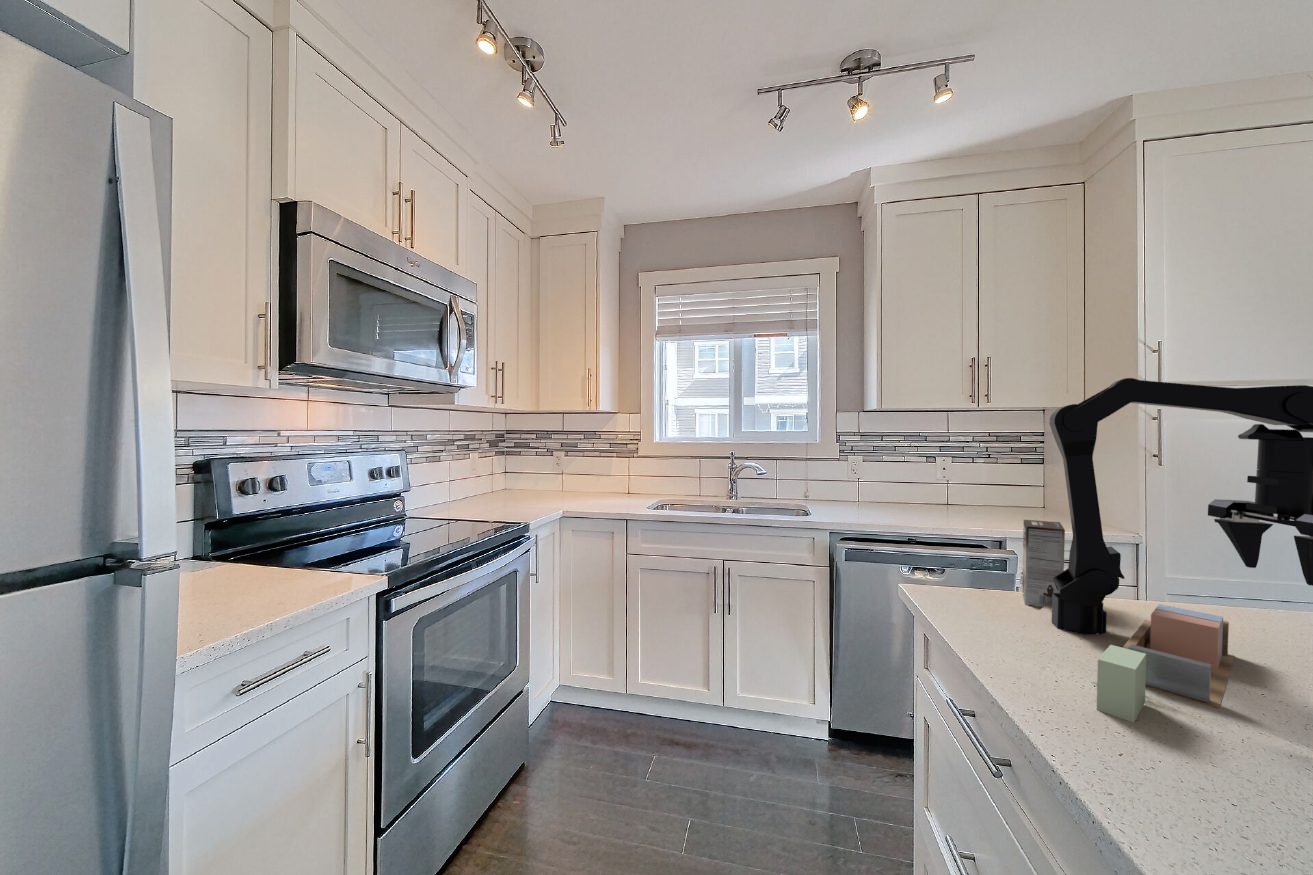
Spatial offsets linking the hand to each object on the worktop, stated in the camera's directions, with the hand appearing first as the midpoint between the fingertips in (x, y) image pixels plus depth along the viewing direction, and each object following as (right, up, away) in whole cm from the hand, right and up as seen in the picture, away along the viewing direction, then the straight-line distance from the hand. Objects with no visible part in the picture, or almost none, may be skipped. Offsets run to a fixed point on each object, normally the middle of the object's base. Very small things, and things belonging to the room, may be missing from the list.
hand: (1280, 575), depth 76 cm
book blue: (-10, -13, +4) cm, 17 cm away
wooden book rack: (-17, -14, -2) cm, 22 cm away
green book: (-33, -14, -11) cm, 38 cm away
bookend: (-25, -13, -9) cm, 30 cm away
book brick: (-13, -13, +1) cm, 18 cm away
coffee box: (-14, -13, +29) cm, 35 cm away
